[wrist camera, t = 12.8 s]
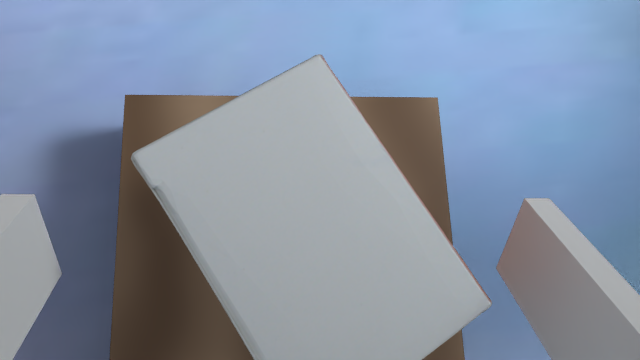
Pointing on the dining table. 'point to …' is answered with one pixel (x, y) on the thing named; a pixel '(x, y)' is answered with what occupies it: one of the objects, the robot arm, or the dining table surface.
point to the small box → (310, 226)
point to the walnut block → (179, 265)
